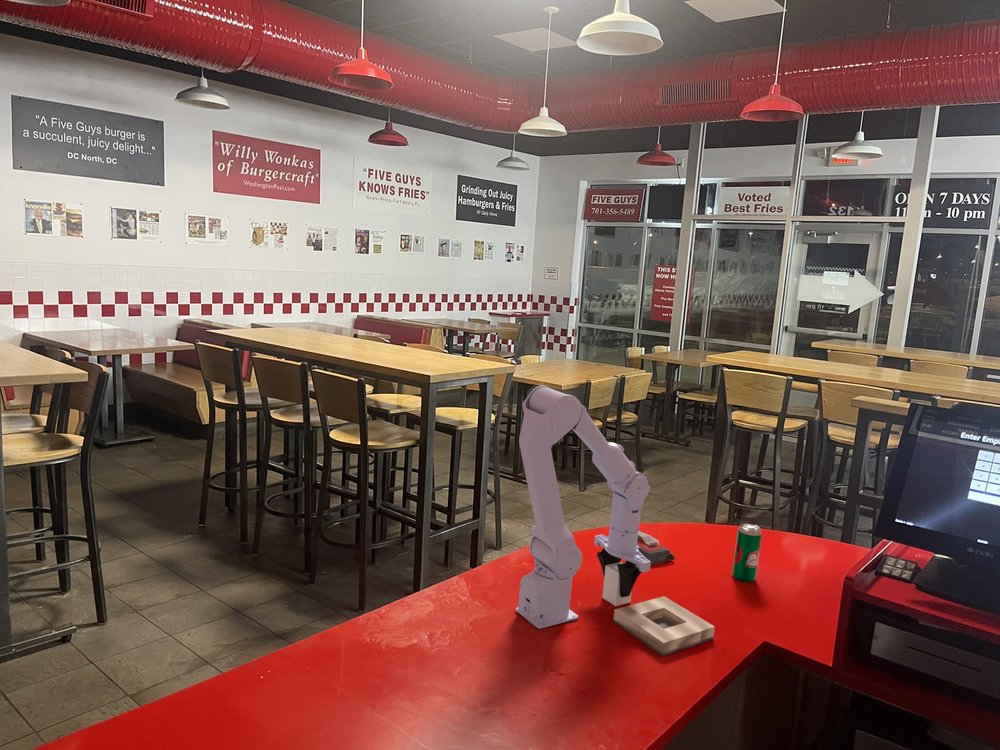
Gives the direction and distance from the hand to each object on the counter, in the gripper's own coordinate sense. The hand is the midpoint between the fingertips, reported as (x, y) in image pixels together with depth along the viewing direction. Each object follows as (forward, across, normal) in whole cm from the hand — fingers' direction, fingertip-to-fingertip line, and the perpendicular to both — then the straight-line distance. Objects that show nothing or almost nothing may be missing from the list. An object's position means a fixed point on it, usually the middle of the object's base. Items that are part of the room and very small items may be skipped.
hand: (617, 591), depth 146 cm
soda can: (+2, -4, -34) cm, 34 cm away
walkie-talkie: (+3, +19, -24) cm, 30 cm away
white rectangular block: (+2, 0, 0) cm, 2 cm away
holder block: (+2, -13, 0) cm, 13 cm away
